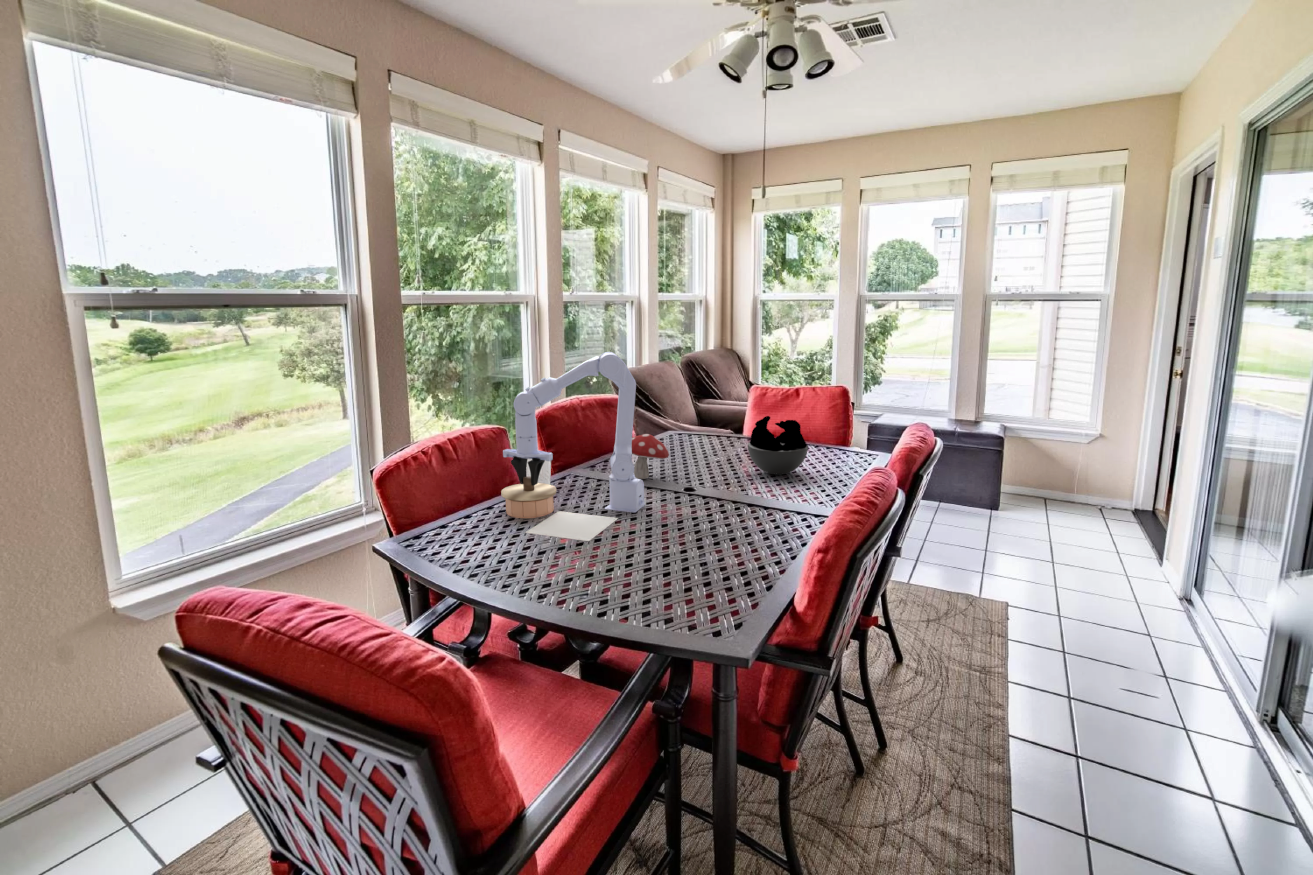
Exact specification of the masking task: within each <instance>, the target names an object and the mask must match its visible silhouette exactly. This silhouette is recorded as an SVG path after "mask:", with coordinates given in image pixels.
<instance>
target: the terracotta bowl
mask: <svg viewBox="0 0 1313 875" xmlns="http://www.w3.org/2000/svg"><path fill="white" fill-rule="evenodd" d="M504 499H505V498H504ZM554 505H555V504H554V496H552V497H549V498H546V499H541V500H534V501H515V500H509V499H505V511H506V512H505V513H506V515H508V516H510V517H511V518H516V519H517V518H518V519H535V518H541V517H544V516H547V515H548V516H549V515H551V513H553V512H554V509H555V507H554Z"/></svg>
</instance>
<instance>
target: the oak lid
mask: <svg viewBox="0 0 1313 875" xmlns="http://www.w3.org/2000/svg"><path fill="white" fill-rule="evenodd" d="M500 492H501V494H500V495H501V497H502V498H504V499H509V500H515V501H534V500H541V499H546V498H549V497H552V496H553V497H554V496H556V494H557V487H556V486H555V485H551V484H550V485H549V484H544V483H538V484H536V485H532V484H531V476H528V475H527V477H523V484H520V483H518V484H512V485H509V486H506V487H504V488H503V489H501V491H500Z"/></svg>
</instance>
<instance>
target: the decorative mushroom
mask: <svg viewBox="0 0 1313 875" xmlns="http://www.w3.org/2000/svg"><path fill="white" fill-rule="evenodd" d="M668 450H669V449H667V446H666V445H665V444H664V443H663V442H662V441H661V440H659V439H658V438H656V437H655V436H653V435H652V434H650V433H643V434H639V435H636V436H632V455H634V456H636V457H637V459H636V461H635V464H634V473H633V474H634V475H635V478H637V479H641V480H645V479H648V478H649V477H650V473H649V472H650V471H649V466H648V459H656V460H657V459H658V460H659V459H660V460H665V459H668V458H669V455H670V452H669V451H668Z"/></svg>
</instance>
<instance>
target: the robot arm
mask: <svg viewBox="0 0 1313 875" xmlns="http://www.w3.org/2000/svg"><path fill="white" fill-rule="evenodd" d="M599 373H600V374H601V376H603V377H604V378H607V379H608V380H610V381H612V382H613V383H614V385H615V386H616V387H617V388H618V397H617V398H618V399H617V409H616V413H617V414H616V424H615V426H616V427H615V436H614V437H615V438H614V439H615V440H614V446H613V453H612V455H611V456H610V458H609V466H610V468H611V473H610V475H608V478H609V482H608V483H609V504H608V505H607V506H605V507H604V509H605V510H609V511H619V512H628V513H637V512H638V511H639V510H640V509H641V508H643V507H645V505H646V503H645V483H644V479H637V478H635V475H634V467H635V464H634V463H633V460H632V459H633V458H632V457H633V454H632V437H633V432H634V431H633V430H634V418H635V404H636V391H637V390H636V389H637V381H636V380H635V378H634V376H633V374H632V373H631V371H630V369H629V367H628V366H627V364H626V363H625V362H624V360H623V358H621V357H619V356H618V355H617V354H616V353H614V352H612V351H606V352H603V353H601V354H600V355H596V356H593V357H591V358H589V359H587V360H585V361H584V362H582V363H580V364H578V365H577V366H575V367H573V368H572V369H570V370H568V371H567V372H565V373H564V374H562V375H561V376H558V377H557V378H555V377H552V376H551V377H550V376H549V377H547V378H546V377H545V376H544V377H542V378H541V379H540V382H538V383H537V384H535V385H533V386H531V387H529V386H528V387H526V388H525V391H521V392H519V393H518V394H517V395H516V396H515V398H514V401H513V409H514V410H515V414H514V417H515V419H514V421H515V422H514V425H515V426H514V428H515V441H516V449H515V448H514V449H512V448H506V449H503V450H502V457H503V458H512V459H511V460H510V464H511V465H512V468H514V470H515V472H516V474H517V477H518V480H519V484H523V477H527V476H528V475H527V460H528V459H532V460H531V461H529V462H528V465H529V468H530V473H531V484H532V485H536V484H538V478H539V474H540V471H541V468H542V466H543V464H544V462H545V460H546V461H551V462H552V461H553V460H554V459H553V453H552V452H549V451H548V452H547V451H544V450H539V449H538V448H539V446H538V445H539V444H538V425H537V423H538V422H537V418H536V408H537V407H540V408H541V407H542V406H544V405H546V404H547V403H549V402H551V401H553V400H555V399H557V398H559V397H560V396H561V395H562V390H563V389H564V388H567V387H568V386H570V385H572V384H574V383H576V382H578V381H580V380H582V379H583V378H586V377H588V376H589V377H590V376H591V377H599Z"/></svg>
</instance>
